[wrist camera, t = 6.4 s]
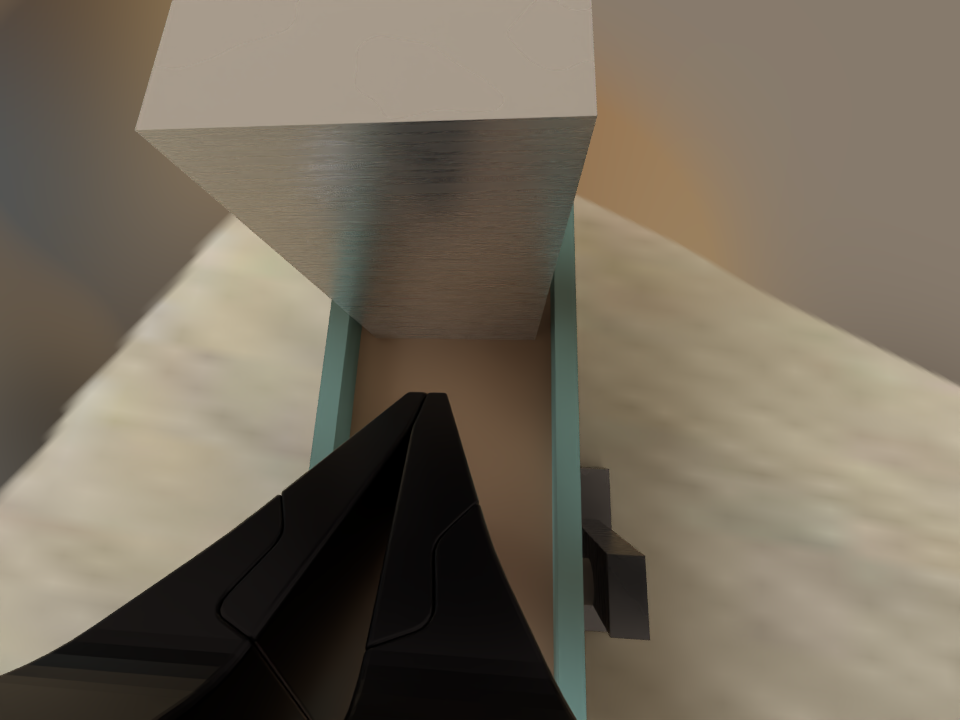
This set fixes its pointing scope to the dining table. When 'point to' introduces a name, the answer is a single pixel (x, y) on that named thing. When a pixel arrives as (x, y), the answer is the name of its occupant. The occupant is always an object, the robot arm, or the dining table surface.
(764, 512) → the dining table surface
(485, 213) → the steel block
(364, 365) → the balance beam
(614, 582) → the beam stand
